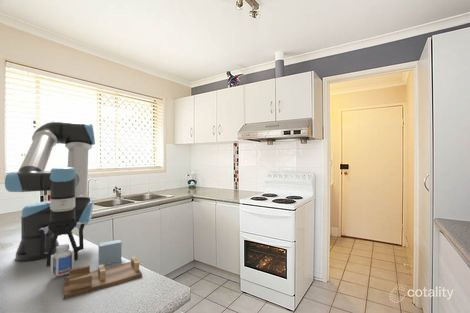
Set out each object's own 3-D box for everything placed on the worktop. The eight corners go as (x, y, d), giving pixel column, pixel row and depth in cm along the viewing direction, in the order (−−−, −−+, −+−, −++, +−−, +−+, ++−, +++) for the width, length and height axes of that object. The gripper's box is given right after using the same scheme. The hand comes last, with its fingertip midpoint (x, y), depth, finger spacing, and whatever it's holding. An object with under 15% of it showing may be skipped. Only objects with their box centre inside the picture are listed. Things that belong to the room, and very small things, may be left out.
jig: (63, 281, 81) (63, 268, 81) (133, 263, 95) (133, 253, 95) (63, 299, 71) (63, 285, 71) (141, 276, 84) (142, 264, 84)
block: (98, 262, 96) (98, 243, 96) (119, 257, 101) (119, 239, 101) (99, 266, 93) (99, 246, 93) (121, 261, 97) (121, 242, 98)
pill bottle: (74, 268, 88) (75, 243, 88) (65, 276, 83) (65, 249, 83) (60, 268, 88) (60, 243, 88) (49, 276, 83) (49, 249, 83)
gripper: (28, 215, 77) (28, 284, 77) (93, 207, 88) (92, 268, 88) (31, 210, 83) (30, 274, 83) (91, 204, 94) (91, 261, 94)
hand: (62, 271), depth 85 cm, fingers closed on pill bottle, 5 cm apart
